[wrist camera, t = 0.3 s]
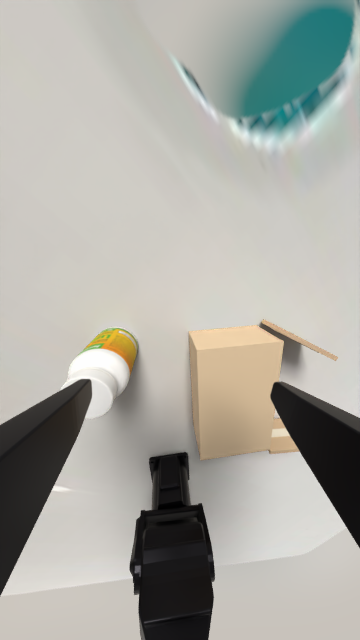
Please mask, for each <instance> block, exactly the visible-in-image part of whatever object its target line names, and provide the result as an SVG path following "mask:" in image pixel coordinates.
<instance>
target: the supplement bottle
mask: <svg viewBox="0 0 360 640" xmlns="http://www.w3.org/2000/svg"><path fill="white" fill-rule="evenodd" d="M137 351H138V342H137V340H136V338H135V336H134V335H133V334H132V333H131V332H130V331H128V330H127V329H124V328H121V327H110V328H107V329H105V330H103V331H102V332H101V333H100V334H98V335H97V336H96V338H95V339H94V340H93V341H92V342H91V343H90V344H89V345H88V346H87V347H86V348H85V349H84V350H83V351H82V352H81V353H80V354H79V355H78V356H77V357H76V358H75V359H74V361H73V362H72V363H71V365H70V367H69V370H68V380H67V381H66V383H65V384H64V385H63V386H62V388H61V390H62V389H64V388H66V387H68V386H69V385H71V384H73V383H75V382H76V381H78V380H80V379H90V380H91V382H92V399H91V402H90V405H89V408H88V410H87V413H86V416H85V419H95V418H98V417H101V416H103V415H104V414H106V413H107V412H108V411H109V410H110V408H111V407H112V404H113V402H114V399H115V398H116V397H117V396H119V395H120V394H121V393H122V392H123V391H124V389H125V388H126V386H127V384H128V381H129V378H130V375H131V371H132V368H133V365H134V361H135V358H136V355H137ZM61 390H60V391H61Z"/></svg>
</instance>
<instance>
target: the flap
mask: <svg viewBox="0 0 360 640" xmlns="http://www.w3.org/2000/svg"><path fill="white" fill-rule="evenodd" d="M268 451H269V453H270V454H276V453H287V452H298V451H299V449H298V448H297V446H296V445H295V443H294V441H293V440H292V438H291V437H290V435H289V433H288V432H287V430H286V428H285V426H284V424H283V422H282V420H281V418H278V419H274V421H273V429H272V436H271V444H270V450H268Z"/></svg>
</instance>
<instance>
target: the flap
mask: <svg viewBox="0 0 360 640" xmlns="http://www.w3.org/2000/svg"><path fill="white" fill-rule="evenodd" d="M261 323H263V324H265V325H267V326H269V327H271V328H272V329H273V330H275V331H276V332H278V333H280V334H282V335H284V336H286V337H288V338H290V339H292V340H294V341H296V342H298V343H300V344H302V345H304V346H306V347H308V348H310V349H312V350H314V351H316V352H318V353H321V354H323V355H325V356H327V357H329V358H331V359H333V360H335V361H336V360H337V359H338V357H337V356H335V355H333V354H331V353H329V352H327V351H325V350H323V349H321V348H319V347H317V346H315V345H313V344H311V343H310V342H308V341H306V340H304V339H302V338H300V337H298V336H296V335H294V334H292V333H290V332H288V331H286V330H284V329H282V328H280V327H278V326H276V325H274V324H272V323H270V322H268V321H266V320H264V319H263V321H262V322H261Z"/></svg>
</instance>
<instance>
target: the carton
mask: <svg viewBox="0 0 360 640" xmlns="http://www.w3.org/2000/svg"><path fill="white" fill-rule="evenodd" d="M189 345H190V366H191V387H192V408H193V425H194V430H195V435H196V440H197V445H198V450H199V455H200V460H207V459H214V458H220V457H226V456H233V455H239V454H246V453H252V452H259V451H265V450H270V444H271V436H272V429H273V421H274V414H275V407H274V405H273V403H272V401H271V398H270V394H271V391H272V387H273V384H274V382H279V376H280V368H281V360H282V353H283V345H284V341H283V340H280V339H278V338H277V337H275V336H273V335H272V334H270V333H268V332H267V331H265V330H263V329H262V328H260V327H258V326H257V325H253V326H242V327H231V328H221V329H210V330H199V331H189Z"/></svg>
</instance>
